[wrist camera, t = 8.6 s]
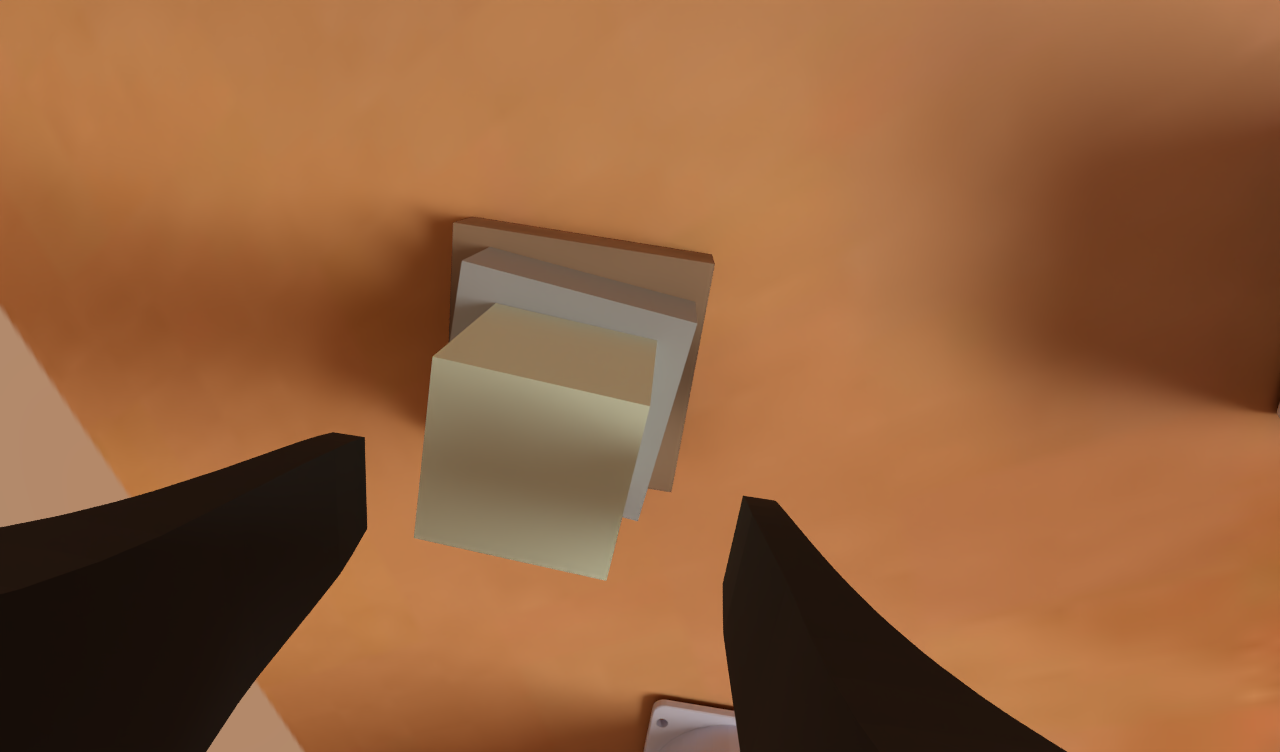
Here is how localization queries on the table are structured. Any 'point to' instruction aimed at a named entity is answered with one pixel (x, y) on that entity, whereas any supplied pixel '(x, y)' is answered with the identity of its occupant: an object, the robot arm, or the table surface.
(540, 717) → the table surface
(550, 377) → the sage cube
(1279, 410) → the ink cartridge box
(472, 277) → the middle block
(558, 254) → the base block
